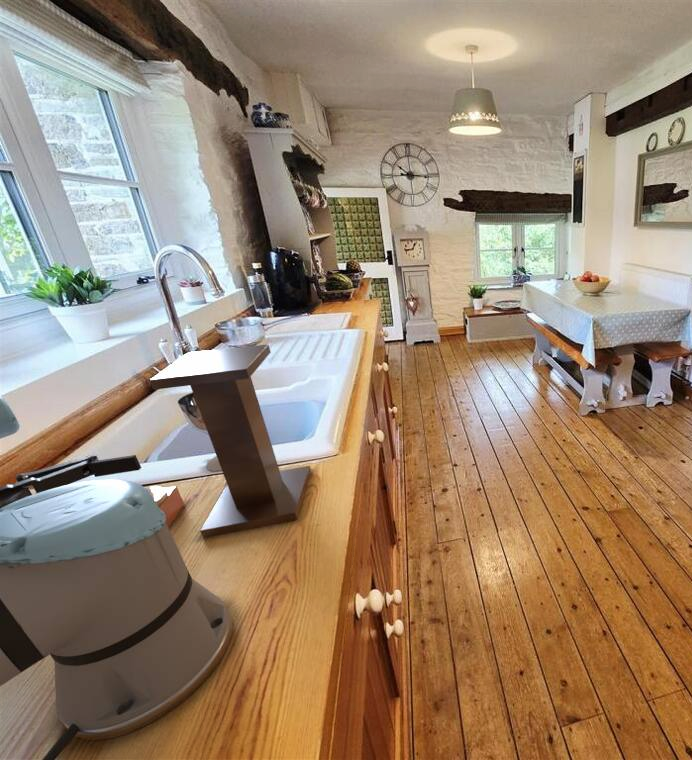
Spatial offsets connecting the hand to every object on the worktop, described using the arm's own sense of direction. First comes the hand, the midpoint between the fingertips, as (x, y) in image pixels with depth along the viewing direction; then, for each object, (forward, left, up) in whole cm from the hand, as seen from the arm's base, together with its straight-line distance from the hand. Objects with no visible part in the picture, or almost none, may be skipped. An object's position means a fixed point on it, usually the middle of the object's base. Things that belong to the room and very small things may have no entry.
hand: (114, 485), depth 66 cm
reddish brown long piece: (-2, +2, -8) cm, 9 cm away
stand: (+12, -16, -8) cm, 21 cm away
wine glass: (+19, +3, -8) cm, 21 cm away
